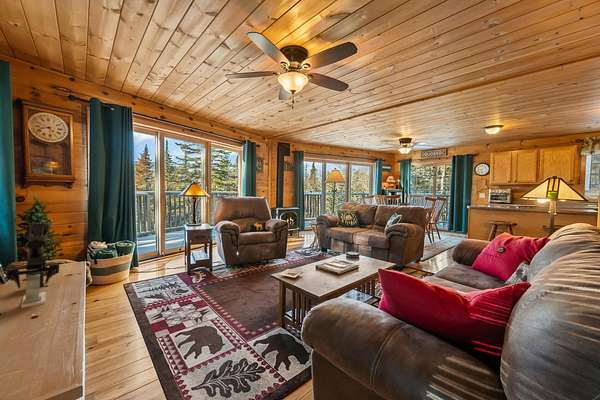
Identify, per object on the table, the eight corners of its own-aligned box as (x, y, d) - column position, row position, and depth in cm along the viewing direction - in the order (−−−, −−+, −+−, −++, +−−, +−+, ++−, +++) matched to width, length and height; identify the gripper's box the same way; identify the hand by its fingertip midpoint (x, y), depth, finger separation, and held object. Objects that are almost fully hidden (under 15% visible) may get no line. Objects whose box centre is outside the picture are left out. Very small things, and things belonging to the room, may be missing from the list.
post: (26, 299, 125) (27, 275, 125) (39, 297, 129) (40, 273, 128) (25, 302, 122) (26, 277, 122) (38, 300, 125) (39, 276, 125)
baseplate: (23, 297, 131) (24, 295, 131) (45, 293, 136) (45, 291, 136) (21, 308, 119) (21, 305, 119) (44, 303, 125) (44, 300, 125)
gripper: (7, 253, 121) (2, 281, 114) (59, 249, 135) (58, 274, 127) (9, 265, 127) (4, 293, 119) (59, 260, 140) (58, 285, 132)
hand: (32, 286), depth 124 cm, fingers open, 9 cm apart
